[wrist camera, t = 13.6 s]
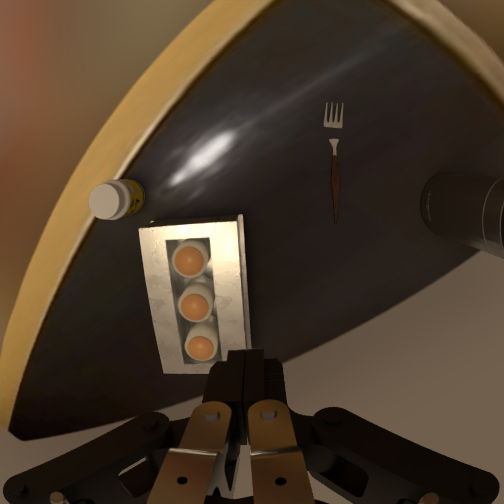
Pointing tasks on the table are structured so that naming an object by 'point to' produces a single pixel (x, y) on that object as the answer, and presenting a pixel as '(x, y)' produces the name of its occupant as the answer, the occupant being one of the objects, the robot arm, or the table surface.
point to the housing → (173, 284)
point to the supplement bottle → (116, 199)
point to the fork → (334, 158)
